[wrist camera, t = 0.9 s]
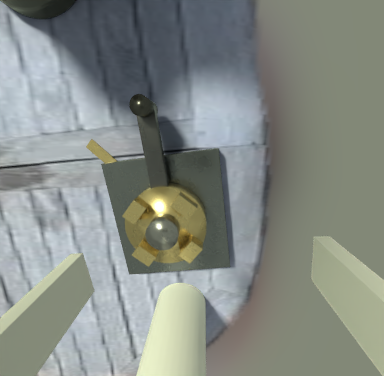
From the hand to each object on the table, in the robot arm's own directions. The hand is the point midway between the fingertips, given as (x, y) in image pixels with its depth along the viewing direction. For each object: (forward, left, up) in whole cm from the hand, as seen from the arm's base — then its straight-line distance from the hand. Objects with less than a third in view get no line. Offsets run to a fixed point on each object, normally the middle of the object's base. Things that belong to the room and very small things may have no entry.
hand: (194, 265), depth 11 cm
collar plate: (+3, -7, -21) cm, 22 cm away
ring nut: (-1, -6, -18) cm, 19 cm away
